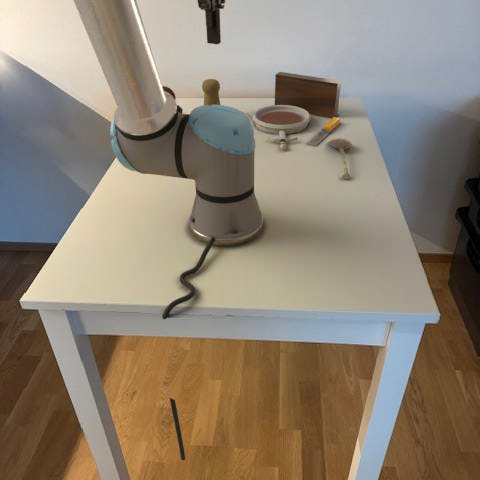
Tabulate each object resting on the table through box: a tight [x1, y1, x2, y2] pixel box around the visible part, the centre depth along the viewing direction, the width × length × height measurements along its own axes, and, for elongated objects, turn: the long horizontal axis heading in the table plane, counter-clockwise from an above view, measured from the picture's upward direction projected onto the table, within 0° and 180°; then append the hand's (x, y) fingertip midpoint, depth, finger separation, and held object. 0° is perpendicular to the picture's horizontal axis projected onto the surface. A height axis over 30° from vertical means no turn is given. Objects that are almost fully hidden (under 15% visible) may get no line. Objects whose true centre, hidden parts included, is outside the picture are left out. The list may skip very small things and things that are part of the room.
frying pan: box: [252, 104, 312, 151], centre depth 139 cm, size 17×3×28 cm
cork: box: [201, 78, 221, 106], centre depth 144 cm, size 6×6×11 cm
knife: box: [308, 116, 341, 147], centre depth 137 cm, size 18×2×2 cm, turn 151°
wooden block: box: [274, 71, 342, 119], centre depth 148 cm, size 3×20×10 cm, turn 60°
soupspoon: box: [327, 137, 353, 180], centre depth 124 cm, size 22×3×7 cm
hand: (214, 42), depth 111 cm, fingers closed
